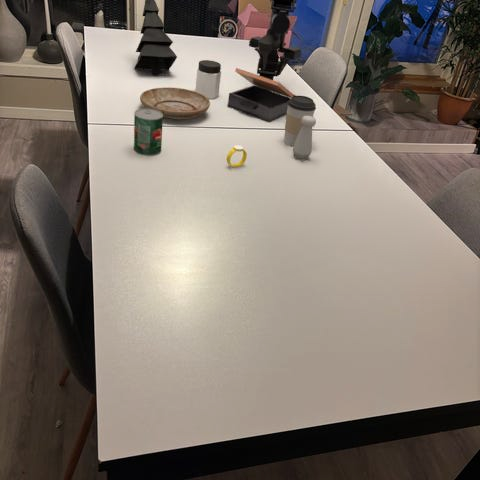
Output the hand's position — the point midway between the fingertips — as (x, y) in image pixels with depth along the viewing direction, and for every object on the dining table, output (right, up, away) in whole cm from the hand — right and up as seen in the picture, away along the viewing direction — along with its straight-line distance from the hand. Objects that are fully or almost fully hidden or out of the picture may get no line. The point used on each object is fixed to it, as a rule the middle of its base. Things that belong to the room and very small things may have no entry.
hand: (270, 72), depth 181 cm
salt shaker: (+8, -35, -25) cm, 44 cm away
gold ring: (-12, -39, -36) cm, 55 cm away
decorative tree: (-48, +10, +27) cm, 56 cm away
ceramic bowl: (-34, -17, -8) cm, 38 cm away
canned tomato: (-38, -35, -35) cm, 62 cm away
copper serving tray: (-2, -5, 0) cm, 5 cm away
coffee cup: (+6, -29, -17) cm, 34 cm away
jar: (-24, -6, +10) cm, 26 cm away
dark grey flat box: (-4, -12, +4) cm, 14 cm away
